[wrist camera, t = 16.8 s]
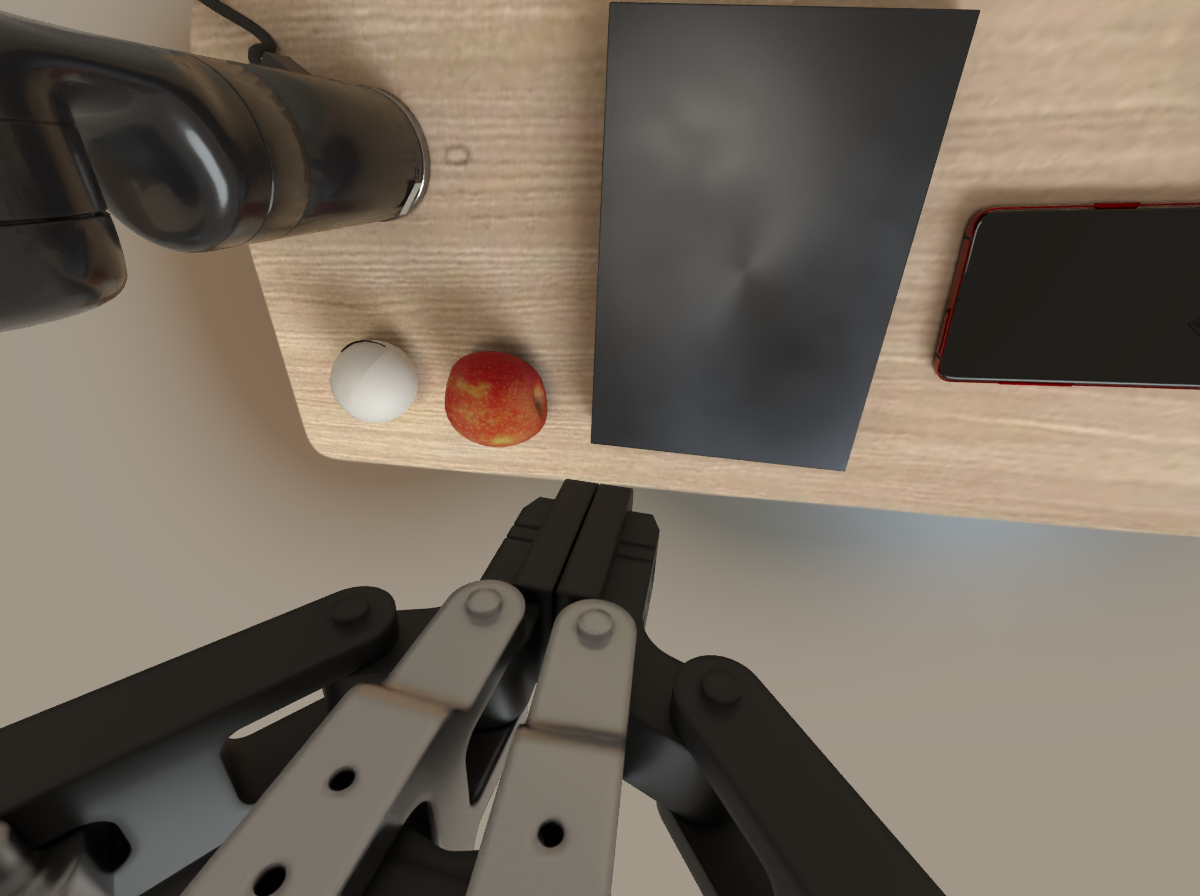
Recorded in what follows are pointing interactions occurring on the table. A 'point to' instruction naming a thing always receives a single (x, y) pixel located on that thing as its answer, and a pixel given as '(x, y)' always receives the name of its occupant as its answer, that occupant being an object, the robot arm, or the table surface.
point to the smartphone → (1076, 298)
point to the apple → (495, 399)
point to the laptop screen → (760, 218)
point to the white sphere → (374, 381)
